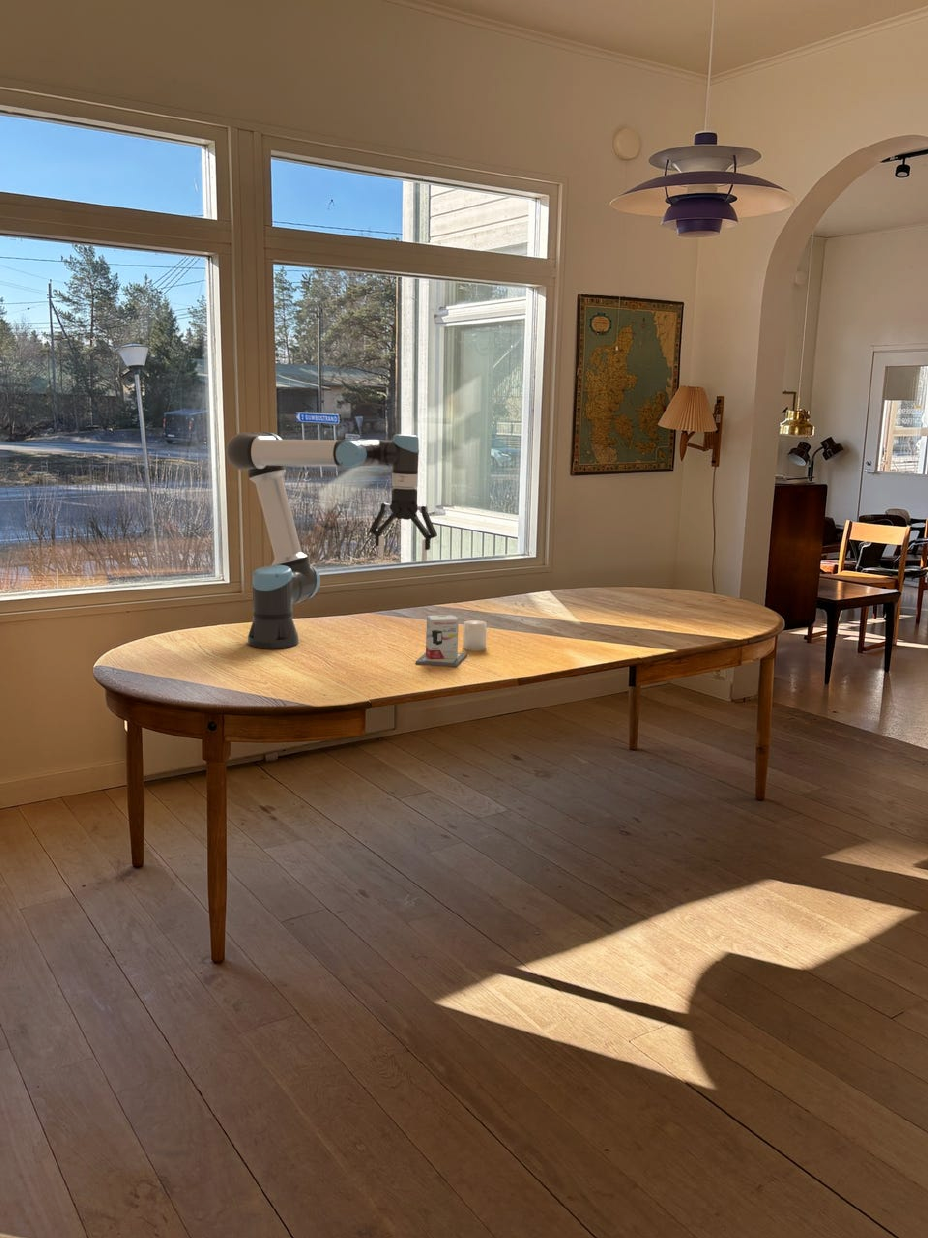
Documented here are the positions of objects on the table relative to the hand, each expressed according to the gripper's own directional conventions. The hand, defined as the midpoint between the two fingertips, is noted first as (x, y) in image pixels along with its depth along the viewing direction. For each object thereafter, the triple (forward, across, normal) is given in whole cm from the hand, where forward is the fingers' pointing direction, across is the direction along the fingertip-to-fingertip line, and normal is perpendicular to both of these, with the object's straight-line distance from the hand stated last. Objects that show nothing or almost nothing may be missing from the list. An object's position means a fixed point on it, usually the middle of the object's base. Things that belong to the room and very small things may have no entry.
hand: (402, 558), depth 303 cm
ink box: (+26, +16, -12) cm, 33 cm away
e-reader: (+27, +16, -12) cm, 33 cm away
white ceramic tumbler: (+27, +22, +6) cm, 35 cm away
